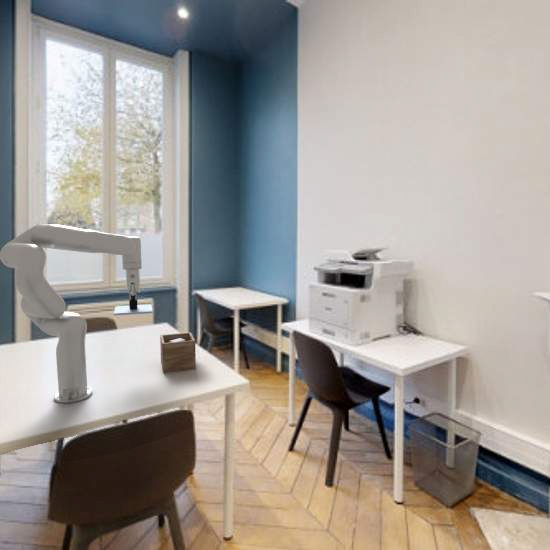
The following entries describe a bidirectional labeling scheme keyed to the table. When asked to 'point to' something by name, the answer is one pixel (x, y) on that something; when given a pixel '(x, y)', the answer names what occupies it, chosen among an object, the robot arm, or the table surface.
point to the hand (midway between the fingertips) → (133, 307)
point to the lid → (133, 310)
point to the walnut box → (177, 352)
